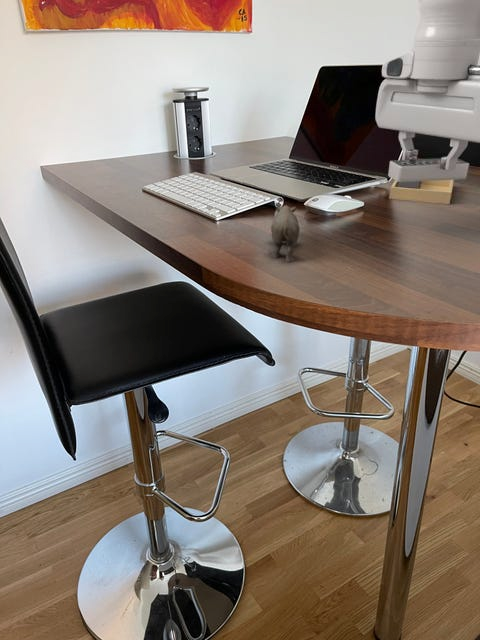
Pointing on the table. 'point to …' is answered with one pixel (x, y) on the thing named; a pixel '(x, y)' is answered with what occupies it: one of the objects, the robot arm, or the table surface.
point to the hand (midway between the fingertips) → (427, 165)
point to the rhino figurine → (285, 231)
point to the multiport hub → (425, 170)
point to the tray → (425, 192)
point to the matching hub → (409, 184)
